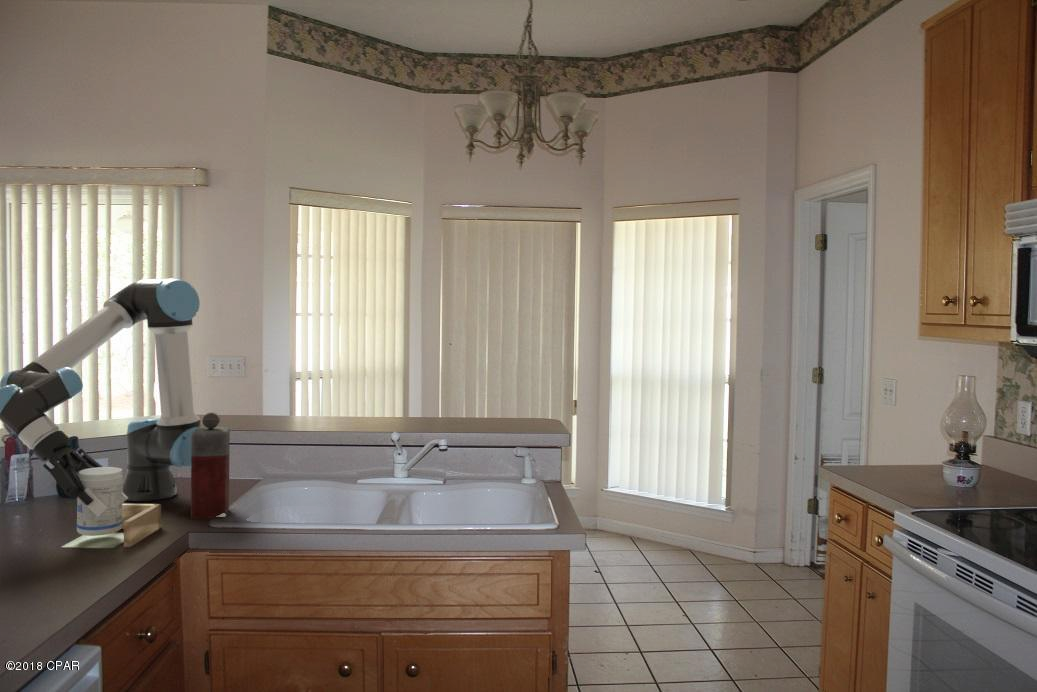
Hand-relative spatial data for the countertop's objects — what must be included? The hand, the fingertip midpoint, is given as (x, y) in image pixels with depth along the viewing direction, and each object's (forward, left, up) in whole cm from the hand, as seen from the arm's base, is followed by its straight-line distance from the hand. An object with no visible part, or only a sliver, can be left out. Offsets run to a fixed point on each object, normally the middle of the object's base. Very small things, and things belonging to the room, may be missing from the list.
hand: (113, 507), depth 181 cm
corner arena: (-2, -3, -8) cm, 9 cm away
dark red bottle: (-30, -1, -8) cm, 31 cm away
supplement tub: (+2, -3, -6) cm, 7 cm away
